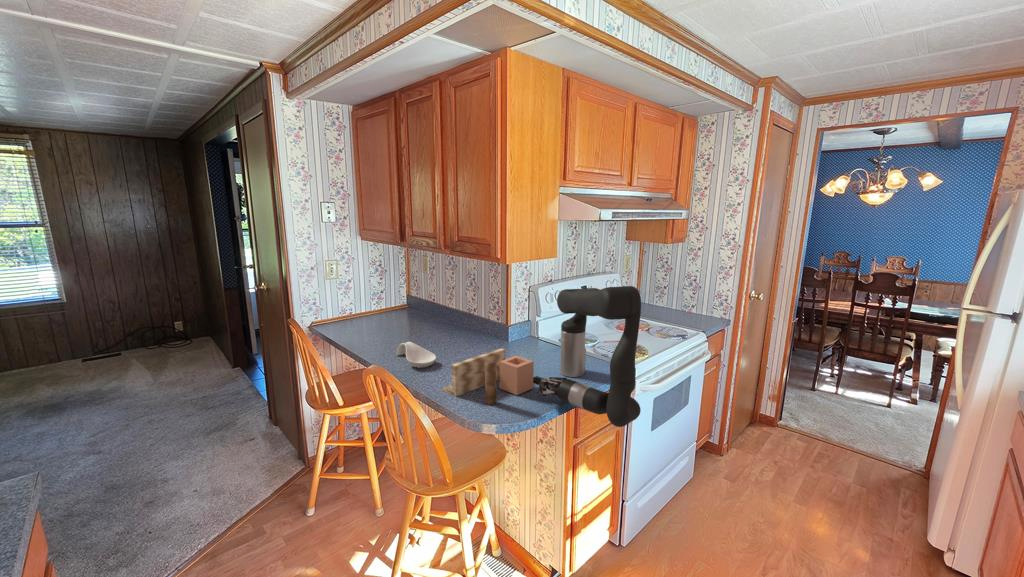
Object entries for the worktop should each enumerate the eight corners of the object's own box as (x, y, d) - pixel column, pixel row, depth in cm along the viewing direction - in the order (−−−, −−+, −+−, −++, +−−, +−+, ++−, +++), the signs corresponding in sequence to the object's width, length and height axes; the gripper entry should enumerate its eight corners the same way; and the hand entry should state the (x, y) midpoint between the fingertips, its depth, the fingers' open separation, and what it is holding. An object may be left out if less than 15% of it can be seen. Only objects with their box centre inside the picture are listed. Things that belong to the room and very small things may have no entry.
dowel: (490, 399, 145) (490, 360, 143) (498, 402, 143) (498, 362, 140) (483, 402, 143) (482, 362, 140) (490, 406, 141) (490, 365, 138)
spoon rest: (442, 366, 177) (441, 349, 175) (416, 373, 169) (415, 356, 167) (412, 352, 194) (411, 336, 192) (388, 358, 186) (387, 342, 185)
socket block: (515, 381, 160) (515, 355, 158) (533, 387, 154) (533, 361, 152) (499, 388, 154) (499, 361, 152) (517, 395, 148) (517, 367, 146)
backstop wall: (492, 372, 169) (492, 345, 167) (505, 376, 165) (505, 349, 163) (443, 390, 152) (442, 361, 150) (455, 396, 148) (455, 366, 146)
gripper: (588, 377, 139) (546, 363, 151) (563, 389, 130) (521, 374, 142) (587, 398, 141) (546, 383, 153) (563, 412, 131) (521, 395, 143)
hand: (534, 379), depth 147 cm, fingers closed
